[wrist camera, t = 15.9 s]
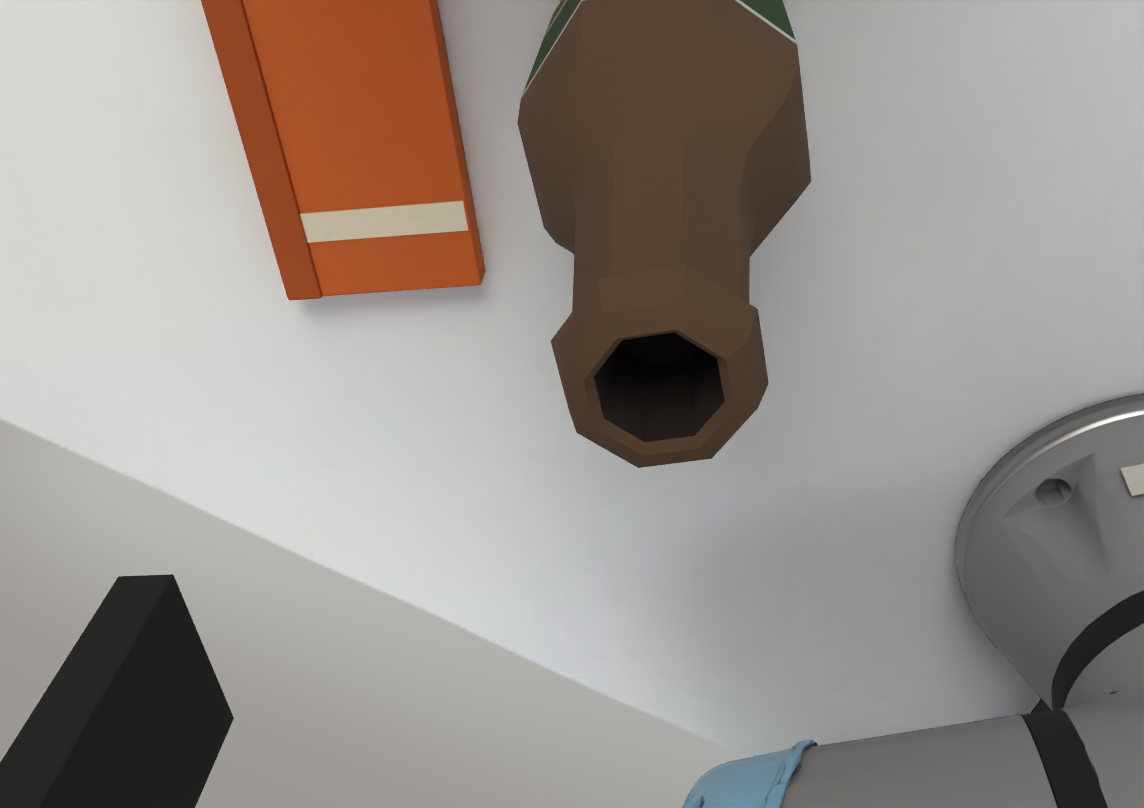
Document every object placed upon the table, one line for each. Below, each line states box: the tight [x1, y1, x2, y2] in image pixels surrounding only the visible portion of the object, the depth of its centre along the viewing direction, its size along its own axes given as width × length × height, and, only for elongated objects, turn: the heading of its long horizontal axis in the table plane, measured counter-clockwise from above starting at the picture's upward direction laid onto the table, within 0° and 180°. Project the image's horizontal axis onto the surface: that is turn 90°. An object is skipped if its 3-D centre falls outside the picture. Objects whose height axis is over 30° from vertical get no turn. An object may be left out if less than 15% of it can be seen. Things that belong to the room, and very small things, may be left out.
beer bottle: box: [518, 0, 811, 468], centre depth 28 cm, size 8×8×24 cm
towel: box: [201, 0, 485, 300], centre depth 38 cm, size 20×8×1 cm, turn 7°
